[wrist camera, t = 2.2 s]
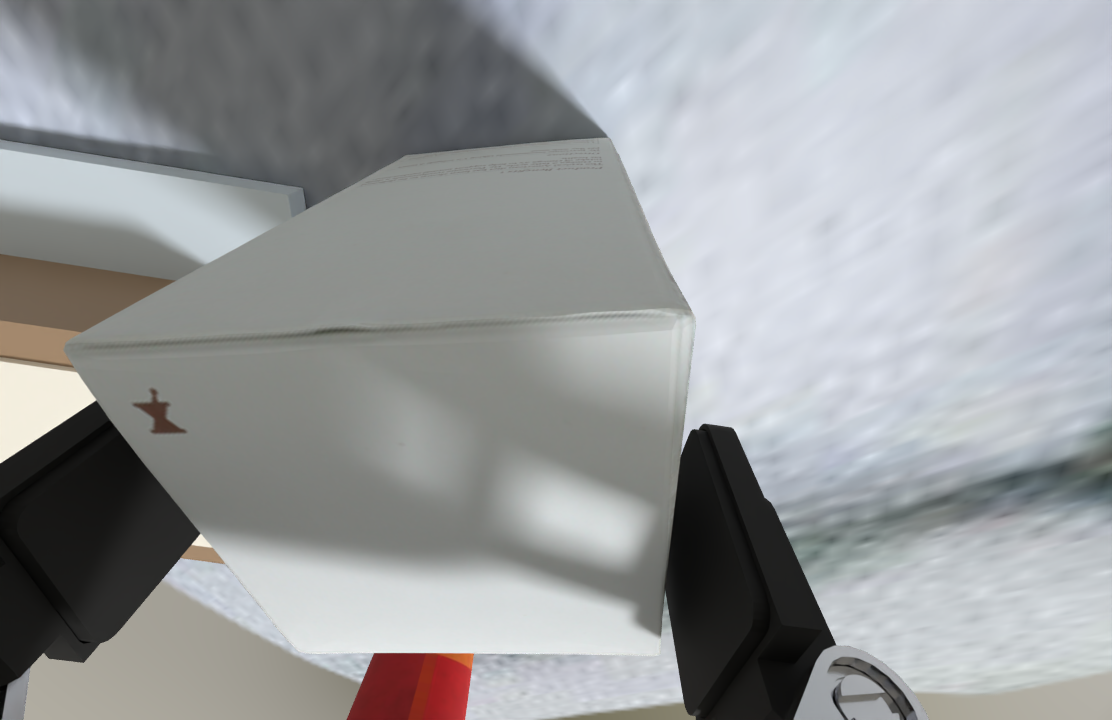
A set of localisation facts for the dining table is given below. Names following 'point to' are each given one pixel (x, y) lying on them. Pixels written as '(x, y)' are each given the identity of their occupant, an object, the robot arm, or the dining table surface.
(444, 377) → the supplement box
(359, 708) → the paper cup
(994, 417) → the dining table surface
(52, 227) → the stepped pedestal
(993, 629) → the dining table surface
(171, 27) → the dining table surface
